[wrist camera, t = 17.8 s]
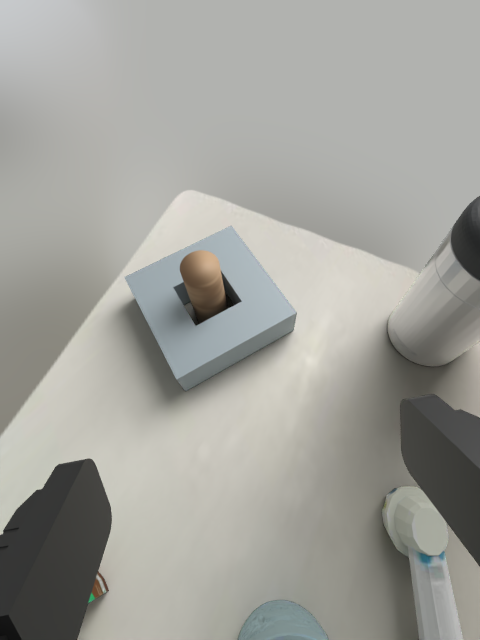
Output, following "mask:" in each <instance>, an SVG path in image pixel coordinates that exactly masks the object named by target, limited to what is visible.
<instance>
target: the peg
mask: <svg viewBox="0 0 480 640" xmlns="http://www.w3.org/2000/svg"><path fill="white" fill-rule="evenodd" d="M180 273H181V276H182V279H183V281H184V284H185V287H186V289H187V292H188V295H189V298H190V300H191V303H192V306H193V308H194V311H195V314H196V316H197V319H198V321H199V322H200V323H202V322H204V321H206V320H208V319H210V318H212V317H213V316H215V315H217V314H219V313H221V312H223V311H225V310H227V309H228V307H227V301H226V296H225V290H224V285H223V280H222V274H221V269H220V264H219V260H218V258H217V257H216V256H215V255H214V254H213V253H211V252H209V251H204V250H198V251H194V252H191V253H189V254H188V255H186V256H185V257H184V258H183V260H182V261H181V264H180Z"/></svg>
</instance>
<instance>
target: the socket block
mask: <svg viewBox="0 0 480 640" xmlns="http://www.w3.org/2000/svg"><path fill="white" fill-rule="evenodd" d="M198 250H204V251H209V252H211V253H213V254H214V255H215V256H216V257H217V258H218V260H219V264H220V269H221V274H222V280H223V285H224V290H225V292H226V293H227V295H228V296H229V298H230V299H231V301H232V302H233V304H234V306H232V307H230V308H229V309H227V310H225V311H223V312H221V313H219V314H217V315H215V316H213V317H212V318H210V319H208V320H206V321H204V322H202V323H200V324H198V325H197V326H195V324H194V322H193V321H192V319H191V317H190V315H189V314H188V312H187V310H186V309H185V307H184V305H185V304H187V303H189V302H190V301H191V300H190V298H189V295H188V292H187V289H186V287H185V284H184V281H183V279H182V276H181V273H180V264H181V261H182V260H183V258H184V257H185V256H186V255H188V254H189V253H191V252H194V251H198ZM125 279H126V281H127V283H128V285H129V287H130V289H131V291H132V293H133V295H134V297H135V299H136V301H137V303H138V305H139V307H140V309H141V311H142V313H143V315H144V317H145V319H146V321H147V323H148V324H149V326H150V328H151V330H152V332H153V334H154V336H155V338H156V340H157V342H158V344H159V346H160V348H161V350H162V352H163V354H164V356H165V358H166V360H167V362H168V364H169V366H170V368H171V370H172V372H173V374H174V376H175V378H176V380H177V381H178V382H179V384H180V385H181V386H182V388H183V389H184V390H185V391H187V390H189V389H191V388H192V387H194V386H196V385H198V384H199V383H201V382H203V381H205V380H207V379H208V378H210V377H212V376H214V375H215V374H217V373H219V372H221V371H222V370H224V369H226V368H228V367H230V366H231V365H233V364H235V363H237V362H238V361H240V360H242V359H244V358H245V357H247V356H249V355H251V354H253V353H254V352H256V351H258V350H260V349H261V348H263V347H265V346H267V345H268V344H270V343H272V342H274V341H276V340H277V339H279V338H281V337H283V336H284V335H286V334H288V333H290V332H291V331H293V330H294V325H295V320H296V314H297V312H296V311H295V310H294V308H293V307H292V306H291V304H290V303H289V302H288V300H287V299H286V298H285V296H284V295H283V294H282V292H281V291H280V290H279V288H278V287H277V286H276V284H275V283H274V282H273V280H272V279H271V278H270V276H269V275H268V274H267V272H266V271H265V270H264V268H263V267H262V266H261V264H260V263H259V262H258V260H257V259H256V258H255V256H254V255H253V254H252V252H251V251H250V250H249V248H248V247H247V246H246V244H245V243H244V242H243V240H242V239H241V238H240V236H239V235H238V234H237V232H236V231H235V230H234V228H233V227H232V226H229V227H227V228H225V229H223V230H221V231H219V232H217V233H215V234H213V235H211V236H209V237H207V238H205V239H202V240H200V241H198V242H196V243H194V244H192V245H190V246H188V247H186V248H184V249H182V250H180V251H178V252H176V253H174V254H171V255H169V256H167V257H165V258H163V259H161V260H159V261H157V262H155V263H153V264H151V265H149V266H147V267H145V268H142V269H140V270H138V271H136V272H134V273H132V274H130V275H128V276H126V277H125Z"/></svg>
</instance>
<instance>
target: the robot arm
mask: <svg viewBox="0 0 480 640" xmlns="http://www.w3.org/2000/svg"><path fill="white" fill-rule="evenodd" d="M388 334H389V338H390V340H391V342H392V344H393V345H394V347H395V348H396V350H397V351H398V352H399V353H400V354H402V355H403V356H404V357H406V358H407V359H408V360H410V361H412V362H415V363H417V364H420V365H424V366H442V365H445V364H447V363H449V362H451V361H452V360H454V359H455V358H457V357H458V356H460V355H461V354H463V353H464V352H465V351H467V350H468V349H470V348H471V347H473V346H474V345H475V344H477V343H478V342H480V196H479V197H477V198H476V199H475V200H474V201H473V202H471V203H470V204H469V205H468V206H467V208H466V209H465V210H464V211H463V213H462V214H461V216H460V217H459V219H458V220H457V221H456V223H455V224H454V226H453V227H452V228H451V230H450V231H449V233H448V234H447V236H446V237H445V238H444V240H443V241H442V243H441V244H440V246H439V247H438V249H437V250H436V252H435V253H434V254H433V256H432V257H431V259H430V260H429V261H428V263H427V264H426V266H425V267H424V268H423V270H422V272H421V273H420V274H419V275H418V277H417V278H416V280H415V281H414V283H413V284H412V285H411V287H410V288H409V290H408V291H407V292H406V294H405V295H404V297H403V298H402V299H401V301H400V302H399V304H398V305H397V306H396V308H395V309H394V311H393V312H392V314H391V315H390V317H389V321H388ZM400 421H401V451H402V456H403V460H404V462H405V465H406V467H407V469H408V471H409V473H410V474H411V476H412V477H413V478H414V480H415V481H416V482H417V484H418V485H419V486H420V488H421V489H422V490H423V492H424V493H425V494H426V496H427V497H428V498H429V500H430V501H431V502H432V504H433V505H434V506H435V508H436V509H437V510H438V512H439V513H440V514H441V516H442V517H443V518H444V520H445V521H446V522H447V524H448V525H449V526H450V527H451V529H452V530H453V531H454V533H455V534H456V535H457V537H458V538H459V539H460V541H461V542H462V543H463V545H464V546H465V547H466V549H467V550H468V551H469V553H470V554H471V555H472V557H473V558H474V559H475V561H476V562H477V563H478V565H479V566H480V418H479V417H477V416H474V415H472V414H470V413H468V412H465V411H463V410H456V411H455V410H454V409H452V408H451V407H450V406H449V405H448V404H446V403H445V402H444V401H443V400H442V399H440V398H439V397H438V396H436V395H434V394H429V395H424V396H418V397H413V398H408V399H403V400H402V401H401V405H400ZM111 522H112V515H111V507H110V503H109V501H108V498H107V495H106V492H105V490H104V487H103V484H102V481H101V478H100V476H99V473H98V470H97V467H96V465H95V463H94V461H93V460H92V459H84V460H79V461H74V462H69V463H63V464H59V465H57V466H56V467H55V469H54V470H53V472H52V474H51V475H50V477H49V479H48V480H47V482H46V484H45V486H44V487H43V489H41V490H36V491H35V492H34V493H33V494H32V495H31V496H30V497H29V498H28V499H27V500H26V501H25V502H24V503H23V504H22V505H21V506H20V507H19V508H18V509H17V510H16V511H15V513H14V515H13V516H12V518H11V519H10V521H9V522H8V524H7V525H6V527H5V529H4V530H3V534H2V535H0V640H77V638H78V635H79V631H80V628H81V625H82V622H83V618H84V615H85V612H86V609H87V605H88V602H89V599H90V596H91V592H92V589H93V586H94V583H95V579H96V576H97V573H98V570H99V567H100V563H101V560H102V557H103V554H104V550H105V547H106V544H107V541H108V537H109V534H110V530H111Z"/></svg>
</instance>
